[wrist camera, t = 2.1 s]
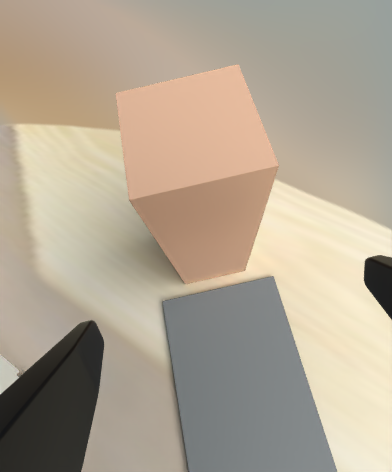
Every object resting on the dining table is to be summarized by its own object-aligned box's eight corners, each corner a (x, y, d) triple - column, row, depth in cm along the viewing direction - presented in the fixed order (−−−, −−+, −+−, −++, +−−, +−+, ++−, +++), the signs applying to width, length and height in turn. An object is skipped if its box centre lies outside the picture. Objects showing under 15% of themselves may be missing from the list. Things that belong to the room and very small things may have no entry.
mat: (362, 553, 15) (365, 557, 15) (207, 586, 15) (207, 591, 15) (272, 276, 21) (273, 276, 21) (163, 301, 21) (162, 301, 21)
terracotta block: (245, 270, 21) (278, 165, 9) (185, 284, 22) (129, 200, 9) (229, 216, 23) (238, 64, 10) (174, 229, 23) (115, 93, 10)
